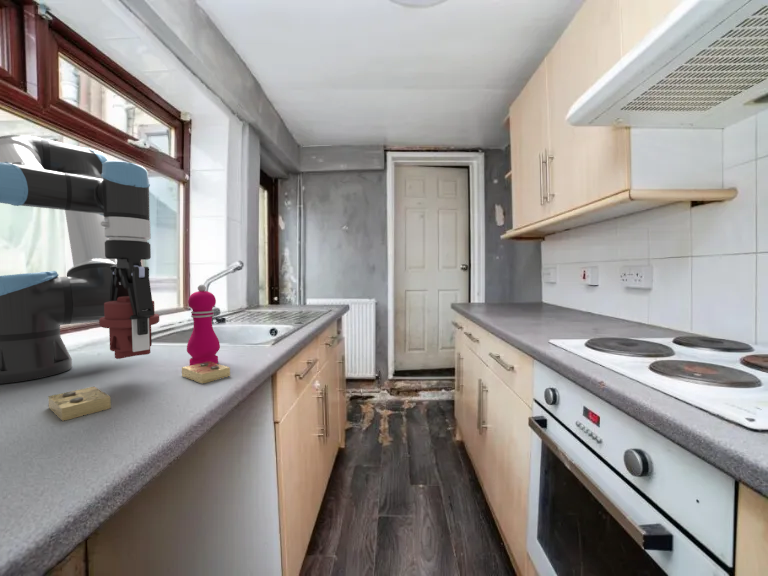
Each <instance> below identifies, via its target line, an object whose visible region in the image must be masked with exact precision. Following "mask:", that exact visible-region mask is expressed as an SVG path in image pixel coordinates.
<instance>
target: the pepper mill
mask: <svg viewBox="0 0 768 576" xmlns="http://www.w3.org/2000/svg"><path fill="white" fill-rule="evenodd" d="M197 290H198V291H195V292H192V293H191V294H190V295H189V297H188V300H187V303H188V306H189V307H190V309H191V310H192V311H190V313H191V316H190V317H191V318H192V319H193V320H192V321H193V328H192V332H191V335H190V337H189V339H188V341H187V345H186V352H187V354H188V355H190V357H191V358H190V359H189V360H188V361H189V366H190V365H195V364H199V363H204V362H213V363H216V364H217V363H218V364H219V357H218V355H217V353H219V351H220V348H221V344H220V341H219V338H218V335H216V332H215V331H214V328H213V322H212V321H213V317H214V316H215V313H214V312H215V310H213V308H214V307H215V306H216V304H217V300H216V296H215V295H214V293H212V292H211V291H207V287H206V286H205V285H204V284H199V285H198V286H197Z"/></svg>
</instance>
